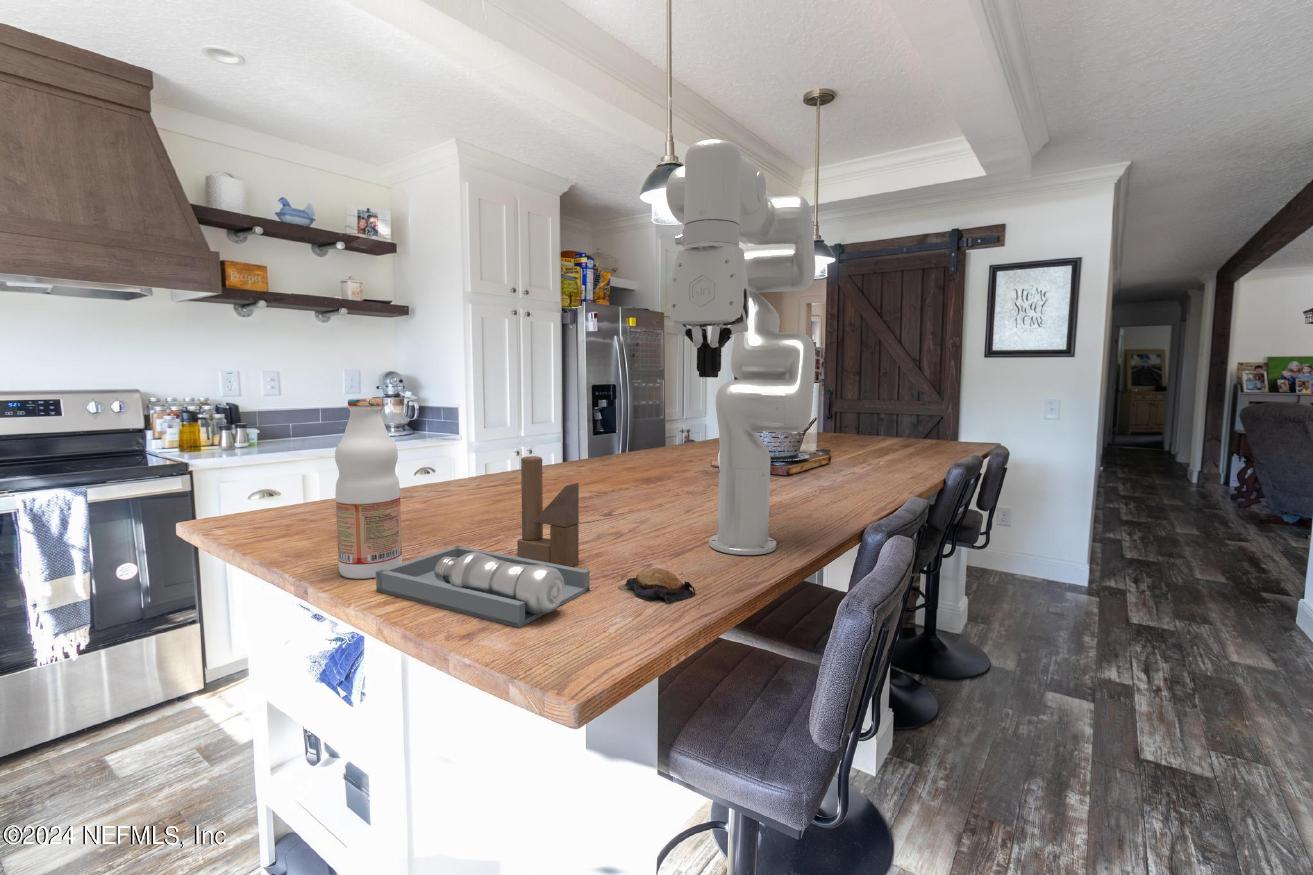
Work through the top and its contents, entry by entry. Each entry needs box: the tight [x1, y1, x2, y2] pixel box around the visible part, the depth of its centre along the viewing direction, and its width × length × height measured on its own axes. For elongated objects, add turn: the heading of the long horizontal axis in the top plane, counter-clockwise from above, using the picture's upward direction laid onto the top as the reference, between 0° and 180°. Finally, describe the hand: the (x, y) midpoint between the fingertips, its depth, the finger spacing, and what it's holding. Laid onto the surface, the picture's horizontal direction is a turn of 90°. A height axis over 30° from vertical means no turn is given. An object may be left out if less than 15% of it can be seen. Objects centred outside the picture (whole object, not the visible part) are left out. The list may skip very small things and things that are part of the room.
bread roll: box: [617, 567, 698, 606], centre depth 92 cm, size 11×8×4 cm
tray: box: [375, 545, 591, 629], centre depth 91 cm, size 16×27×3 cm, turn 62°
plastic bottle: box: [434, 552, 565, 615], centre depth 85 cm, size 6×7×20 cm
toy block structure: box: [516, 455, 580, 568], centre depth 105 cm, size 4×11×18 cm, turn 61°
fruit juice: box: [334, 398, 403, 580], centre depth 99 cm, size 9×9×28 cm
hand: (708, 377), depth 85 cm, fingers closed
